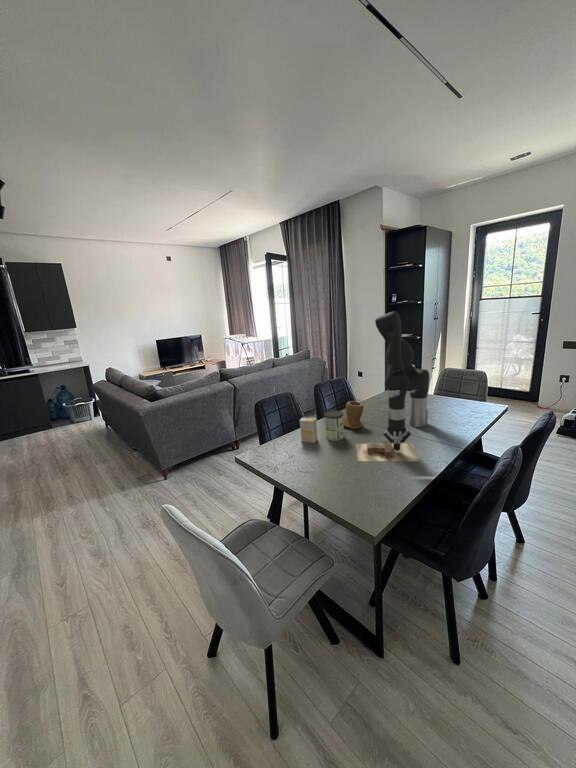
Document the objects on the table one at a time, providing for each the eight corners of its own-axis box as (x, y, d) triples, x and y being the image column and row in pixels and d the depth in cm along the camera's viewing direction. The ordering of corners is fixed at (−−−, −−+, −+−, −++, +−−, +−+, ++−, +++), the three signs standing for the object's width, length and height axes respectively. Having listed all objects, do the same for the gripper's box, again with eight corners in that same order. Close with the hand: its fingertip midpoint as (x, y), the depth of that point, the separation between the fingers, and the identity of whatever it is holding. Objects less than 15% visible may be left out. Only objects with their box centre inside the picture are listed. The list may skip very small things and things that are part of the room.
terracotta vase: (368, 425, 184) (367, 402, 180) (354, 431, 177) (354, 407, 174) (349, 419, 196) (348, 397, 192) (335, 425, 189) (334, 402, 185)
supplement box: (317, 439, 171) (316, 418, 168) (315, 443, 167) (313, 421, 164) (304, 438, 175) (302, 416, 171) (301, 442, 171) (299, 420, 167)
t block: (391, 446, 155) (391, 440, 154) (394, 457, 143) (394, 452, 143) (366, 445, 157) (366, 440, 156) (367, 457, 146) (367, 451, 145)
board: (412, 445, 156) (412, 443, 156) (421, 463, 139) (421, 461, 139) (355, 445, 161) (355, 443, 161) (357, 462, 144) (357, 461, 143)
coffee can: (327, 432, 180) (326, 409, 176) (345, 433, 176) (344, 410, 173) (324, 440, 170) (322, 416, 167) (342, 441, 167) (341, 417, 163)
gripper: (409, 413, 146) (409, 446, 151) (381, 414, 149) (381, 446, 153) (413, 419, 139) (412, 453, 143) (383, 419, 141) (383, 453, 146)
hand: (396, 450), depth 148 cm, fingers closed
